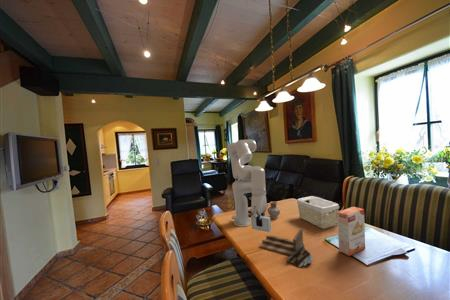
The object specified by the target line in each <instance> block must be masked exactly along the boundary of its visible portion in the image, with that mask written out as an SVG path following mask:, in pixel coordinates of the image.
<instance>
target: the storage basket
mask: <svg viewBox="0 0 450 300" xmlns="http://www.w3.org/2000/svg"><path fill="white" fill-rule="evenodd" d="M307 201H308V202H307ZM296 203H297V209H298V214H299V218H301V220H304V221H306V222H309V224H312V225H314V226H317V227H318V228H319V229H328V228H332V227H335V226H338V212H339V211H340V210H339V209H340V206H339V204H338V203H336V202H333V201H331V200H327V199H324V198H321V197H318V196H313V195H311V196H305V197H301V198H297V199H296Z"/></svg>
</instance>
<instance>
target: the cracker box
mask: <svg viewBox="0 0 450 300" xmlns="http://www.w3.org/2000/svg"><path fill="white" fill-rule="evenodd" d="M365 225H366V224H365V209H364V208H361V207H356V206H351V207H348V208H345V209H342V210H338V224H337V230H338V231H337V232H338V233H337V234H338V236H337V238H338V251H339V252H340V253H342V254H345V255H346V256H349V257H351V256H353V255H354V253H355V254H357V253H358V252H361V251H362V250H364V249H366V231H365V230H366V228H365V227H366V226H365ZM356 252H357V253H356ZM352 254H353V255H352Z"/></svg>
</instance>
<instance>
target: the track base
mask: <svg viewBox="0 0 450 300" xmlns="http://www.w3.org/2000/svg"><path fill="white" fill-rule="evenodd" d="M265 236H266V238H265V239H262V240H261V242H262V243H261V244H260V245H259V248H261V249H264V250H267V251H271V252H275V253H278V254H279V253H280V254H282V255H286V256H289V257H290V256H291V255H292V254H293V253H294V252H295V251H296V250H297V249H298V248H299V247H300V246H301V245H302V244H304V237H303V236H304V235H303V228H299V229H298V231H297V232H296V234H295V235H294V237H293V240H292V239H288V238H284V237H281V236H275V235H270V234H269V235H265Z"/></svg>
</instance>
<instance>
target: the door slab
mask: <svg viewBox="0 0 450 300" xmlns="http://www.w3.org/2000/svg"><path fill="white" fill-rule="evenodd" d="M258 216H259V215H258ZM261 219H262V227H259V226H257V225H256V218H255V217H254V213H252V215H250V221H251V224H250V225H251V230H256V231H261V232H266V233H270V232H271V231H272V221H271V216H266V215H265V216H261Z"/></svg>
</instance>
